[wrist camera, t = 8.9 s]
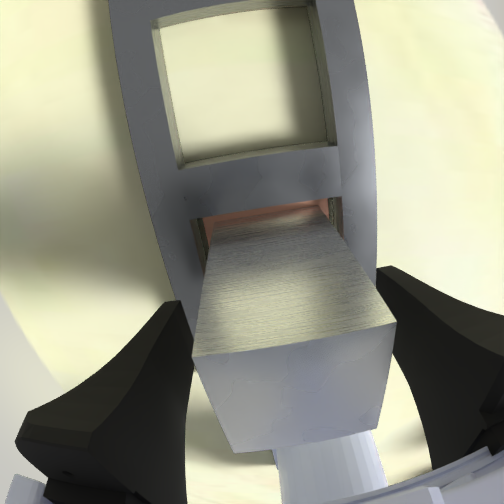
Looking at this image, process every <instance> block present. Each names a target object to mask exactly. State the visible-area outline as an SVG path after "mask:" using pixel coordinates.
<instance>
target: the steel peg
mask: <svg viewBox="0 0 504 504" xmlns="http://www.w3.org/2000/svg"><path fill="white" fill-rule="evenodd" d="M396 324H397V321H396V319H395V318H394V316H393V315H392V313H391V311H390V310H389V308H388V307H387V305H386V303H385V302H384V300H383V299H382V297H381V296H380V294H379V292H378V291H377V289H376V288H375V286H374V285H373V283H372V282H371V280H370V279H369V277H368V276H367V274H366V273H365V271H364V270H363V268H362V267H361V265H360V264H359V262H358V261H357V259H356V258H355V256H354V255H353V253H352V252H351V250H350V249H349V248H348V246H347V245H346V243H345V242H344V240H343V239H342V237H341V236H340V235H339V233H338V232H337V230H336V229H335V228H334V226H333V225H332V223H331V222H330V221H329V219H328V218H327V216H326V215H325V214H324V212H323V211H322V210H321V208H320V207H319V205H316V206H309V207H303V208H296V209H290V210H283V211H277V212H271V213H265V214H259V215H253V216H247V217H241V218H235V219H229V220H224V221H218V222H214V226H213V231H212V237H211V242H210V248H209V253H208V259H207V264H206V270H205V276H204V282H203V288H202V294H201V300H200V306H199V312H198V319H197V325H196V331H195V338H194V345H193V351H192V359H193V362H194V364H195V367H196V369H197V372H198V374H199V377H200V379H201V381H202V384H203V386H204V389H205V391H206V393H207V396H208V398H209V400H210V403H211V405H212V407H213V409H214V412H215V414H216V416H217V418H218V421H219V423H220V425H221V427H222V429H223V432H224V434H225V436H226V438H227V440H228V442H229V444H230V446H231V449H232V451H233V453H244V452H254V451H263V450H271V449H279V448H286V447H292V446H299V445H305V444H310V443H316V442H321V441H326V440H331V439H335V438H340V437H344V436H349V435H353V434H357V433H361V432H365V431H369V430H372V429H376V428H377V425H378V421H379V416H380V412H381V408H382V403H383V399H384V394H385V389H386V384H387V379H388V374H389V369H390V363H391V357H392V351H393V345H394V338H395V331H396Z"/></svg>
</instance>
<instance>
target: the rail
mask: <svg viewBox="0 0 504 504" xmlns="http://www.w3.org/2000/svg"><path fill="white" fill-rule="evenodd" d="M108 2H109V11H110V19H111V27H112V34H113V41H114V48H115V55H116V61H117V67H118V73H119V79H120V84H121V90H122V95H123V101H124V106H125V111H126V116H127V121H128V125H129V130H130V135H131V139H132V144H133V148H134V152H135V157H136V161H137V165H138V169H139V173H140V177H141V181H142V185H143V189H144V193H145V197H146V201H147V205H148V208H149V212H150V216H151V219H152V223H153V226H154V230H155V233H156V237H157V240H158V244H159V247H160V251H161V254H162V257H163V260H164V264H165V267H166V270H167V273H168V276H169V280H170V283H171V286H172V289H173V292H174V295H175V298H176V300H181V303H182V306H183V309H184V312H185V315H186V318H187V321H188V324H189V327H190V330H191V333H192V335H193V338H195V331H196V325H197V319H198V312H199V306H200V300H201V294H202V288H203V282H204V276H205V270H206V264H207V259H206V255H205V251H204V247H203V243H202V239H201V235H200V230H199V226H198V222H197V219H198V218H204V217H210V216H215V215H221V214H227V213H233V212H239V211H245V210H251V209H258V208H264V207H270V206H277V205H283V204H290V203H297V202H303V201H310V200H317V199H324V198H332V197H333V210H334V226H335V229H336V230H337V232H338V233H339V235H340V236H341V237H342V239H343V240H344V242H345V243H346V245H347V246H348V248H349V249H350V250H351V252H352V253H353V255H354V256H355V258H356V259H357V261H358V262H359V264H360V265H361V267H362V268H363V270H364V271H365V273H366V274H367V276H368V277H369V279H370V280H371V282H372V283H373V285H374V286H375V285H376V260H377V191H376V166H375V149H374V136H373V124H372V113H371V104H370V95H369V87H368V79H367V72H366V65H365V59H364V52H363V46H362V40H361V35H360V29H359V24H358V19H357V14H356V10H355V5H354V0H108ZM304 6H307V11H308V16H309V21H310V27H311V32H312V37H313V43H314V49H315V55H316V61H317V67H318V73H319V80H320V86H321V93H322V101H323V108H324V116H325V124H326V133H327V141H324V142H314V143H306V144H298V145H290V146H282V147H275V148H268V149H261V150H255V151H249V152H242V153H236V154H231V155H225V156H219V157H214V158H208V159H203V160H198V161H193V162H188V163H184V159H183V154H182V149H181V145H180V140H179V135H178V130H177V125H176V120H175V115H174V109H173V104H172V99H171V94H170V88H169V83H168V77H167V72H166V66H165V60H164V54H163V48H162V42H161V36H160V30H159V29H160V28H163V27H167V26H171V25H175V24H179V23H184V22H188V21H193V20H197V19H202V18H208V17H213V16H219V15H224V14H231V13H238V12H245V11H253V10H262V9H272V8H285V7H304Z"/></svg>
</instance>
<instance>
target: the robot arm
mask: <svg viewBox="0 0 504 504" xmlns="http://www.w3.org/2000/svg"><path fill="white" fill-rule="evenodd" d="M376 289H377V291H378V292H379V294H380V296H381V297H382V299H383V300H384V302H385V303H386V305H387V307H388V308H389V310H390V311H391V313H392V315H393V316H394V318H395V319H396V321H397V324H396V331H395V338H394V345H393V351H392V353H393V355H394V357H395V359H396V361H397V362H398V364H399V366H400V368H401V370H402V372H403V374H404V376H405V378H406V380H407V382H408V384H409V386H410V389H411V392H412V394H413V397H414V400H415V403H416V406H417V409H418V412H419V415H420V418H421V421H422V425H423V428H424V432H425V436H426V440H427V444H428V448H429V453H430V458H431V464H432V469H433V471H431V472H428V473H425V474H423V475H420V476H417V477H415V478H412V479H409V480H406V481H403V482H400V483H397V484H394V485H391V486H388V482H387V479H386V476H385V473H384V469H383V466H382V463H381V460H380V457H379V454H378V450H377V447H376V444H375V441H374V438H373V435H372V432H371V430H369V431H365V432H361V433H357V434H353V435H349V436H344V437H340V438H335V439H331V440H326V441H321V442H316V443H310V444H305V445H299V446H292V447H286V448H279V449H272V452H273V456H274V460H275V463H276V467H277V469H278V470H279V479H280V489H281V499H282V504H504V315H500V314H496V313H493V312H489V311H486V310H483V309H480V308H477V307H475V306H472V305H469V304H467V303H464V302H462V301H459V300H457V299H455V298H453V297H451V296H449V295H447V294H445V293H442V292H440V291H439V290H437V289H435V288H433V287H431V286H429V285H427V284H425V283H423V282H422V281H420V280H418V279H416V278H414V277H413V276H411V275H409V274H407V273H405V272H404V271H402V270H400V269H398V268H396V267H393V266H386V267H381V268H376ZM193 345H194V338H193V335H192V333H191V330H190V327H189V324H188V321H187V318H186V315H185V312H184V309H183V306H182V303H181V300H176V301H168V302H164V303H163V304H162V305H161V307H160V308H159V309H158V310H157V311H156V312H155V313H154V315H153V316H152V317H151V318H150V319H149V320H148V322H147V323H146V324H145V325H144V326H143V327H142V328H141V330H140V331H139V332H138V333H137V334H136V335H135V336H134V337H133V338H132V339H131V340H130V341H129V342H128V344H127V345H126V346H125V347H124V348H123V349H122V350H121V351H120V352H119V353H118V354H117V355H116V356H115V357H114V358H112V359H111V360H110V361H109V362H108V363H107V364H106V365H104V366H103V367H102V368H101V369H100V370H98V371H97V372H96V373H95V374H93V375H92V376H90V377H89V378H88V379H86V380H85V381H84V382H82V383H81V384H79V385H78V386H76V387H75V388H73V389H72V390H70V391H68V392H67V393H65V394H63V395H62V396H60V397H58V398H56V399H54V400H52V401H51V402H48V403H46V404H44V405H42V406H40V407H38V408H35V409H34V410H31V411H28V413H27V415H26V417H25V419H24V421H23V423H22V426H21V428H20V430H19V433H18V435H17V437H16V440H15V444H16V447H17V449H18V450H19V452H20V453H21V454H22V455H23V456H24V457H25V458H26V459H27V460H28V461H29V462H30V463H31V464H33V465H34V466H35V467H36V468H37V469H38V470H39V471H41V472H42V473H43V474H44V475H46V476H47V477H48V481H47V484H46V485H45V484H44V483H42V482H40V481H37V480H34V479H31V478H28V477H25V476H22V475H19V474H15V475H14V478H13V480H12V483H11V486H10V489H9V492H8V495H7V498H6V501H5V504H187V494H186V478H185V422H186V413H187V407H188V400H189V394H190V388H191V382H192V376H193V370H194V362H193V359H192V351H193Z"/></svg>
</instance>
